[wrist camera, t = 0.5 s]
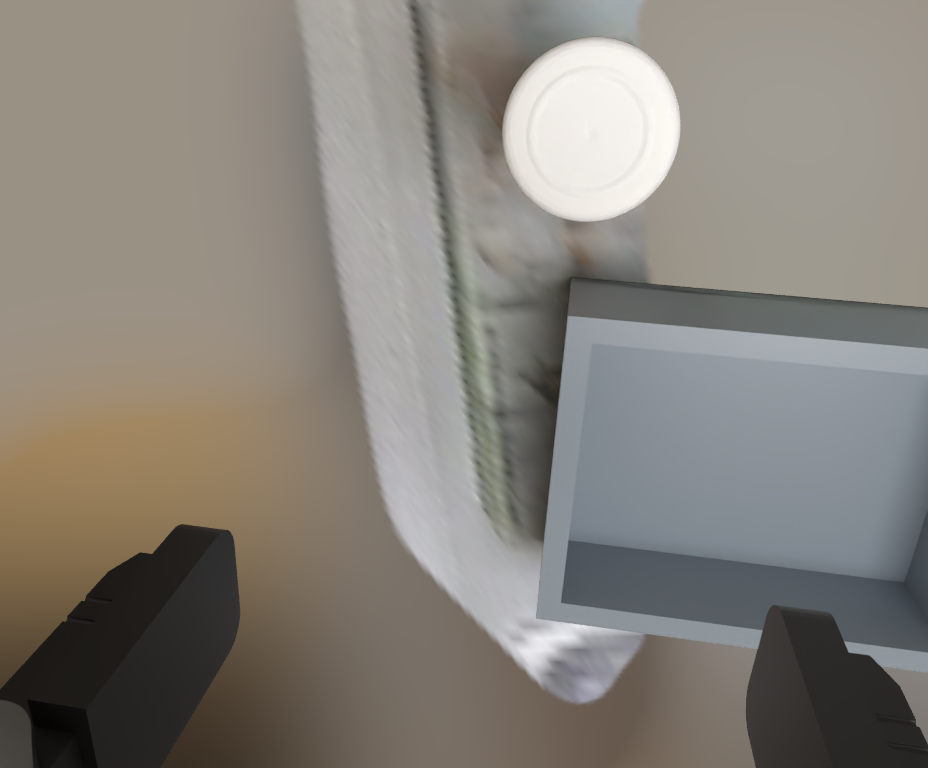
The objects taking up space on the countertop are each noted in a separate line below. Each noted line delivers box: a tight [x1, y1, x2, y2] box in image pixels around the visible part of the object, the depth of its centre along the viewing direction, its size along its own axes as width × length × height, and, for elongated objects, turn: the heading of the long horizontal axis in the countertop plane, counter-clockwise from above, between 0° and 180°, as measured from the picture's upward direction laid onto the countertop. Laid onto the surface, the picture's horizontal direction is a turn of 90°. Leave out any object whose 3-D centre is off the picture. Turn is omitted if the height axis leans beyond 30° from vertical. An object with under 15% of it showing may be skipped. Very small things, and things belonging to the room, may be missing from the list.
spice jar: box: [502, 37, 680, 222], centre depth 26 cm, size 5×5×13 cm
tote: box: [536, 277, 928, 673], centre depth 33 cm, size 14×18×6 cm
